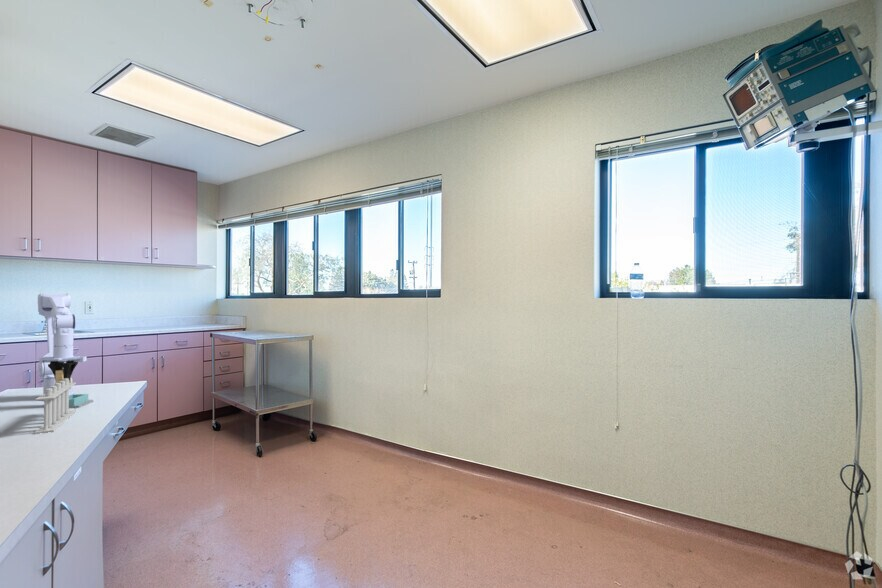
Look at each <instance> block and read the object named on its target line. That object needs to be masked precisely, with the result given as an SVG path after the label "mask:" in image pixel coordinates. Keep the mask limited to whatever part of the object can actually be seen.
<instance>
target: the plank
mask: <svg viewBox="0 0 882 588" xmlns="http://www.w3.org/2000/svg"><path fill="white" fill-rule="evenodd" d="M71 378H72V377H71ZM71 378H70V380H69V383H71ZM63 379H64V369H61V370H57V371H56V383H59V381H62V380H63ZM56 383H55V384H56ZM69 389H71V387H70V388H69Z"/></svg>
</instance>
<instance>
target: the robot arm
mask: <svg viewBox="0 0 882 588" xmlns="http://www.w3.org/2000/svg"><path fill="white" fill-rule="evenodd" d="M71 299H72V298H71V294H69V293H41V292H39V294H38V295H37V312H38V315H41V316H42V317H44V319H45V321H46V336H47V337H46V340H47V341H46V342H47V353H46V354H45V355H43V356H41V357H39V359H38V360H39V361H38V376H39V377H41V378H43V382H42V383H43V390H42V391H43V394H45V389H49V388H50V386H54V385H55V383H56V371H57V370H61V369H64V379H65V378H69V380H70V378H71V383H74V382H73V378H72V375H73V372H74V370H75V369H76V367H77V366H78V364H79V363H84V362H87V361H88V359H87V355H85V356H84V355H82V356H81V355H80V356H79V355H74V333H75V332H74V331H75V328H76V326H77V319H76V315H75V314H74V313H72V312H71V311H70V307H71V303H72V300H71ZM43 394H42V395H43ZM71 394H76V393H75V392H73V386H72V387H71V389H69V395H71Z"/></svg>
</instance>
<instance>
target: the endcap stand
mask: <svg viewBox="0 0 882 588" xmlns="http://www.w3.org/2000/svg"><path fill="white" fill-rule="evenodd" d="M93 402H94V399H89V393H75V394H71V395H69V409H79V408H82V407H84V406H86V404H87V405H89V404H92V403H93ZM81 406H82V407H81Z"/></svg>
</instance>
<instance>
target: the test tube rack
mask: <svg viewBox="0 0 882 588" xmlns="http://www.w3.org/2000/svg"><path fill="white" fill-rule="evenodd" d="M76 384H77V382H72V383H69V378H65V379H63V380H62V381H59V383H56V384H55V385H54V386H50V388H49V389H45V394H42V395H40V396H38V397H36V398H35V401H43V403H44V405H43V406H44V408H43V409H44V410H43V412H44V413H43V425H41V426H40V427H39V428H38V429H37V430H36V431H35V432H34V435H41V434H40V433H42V434H49V433H48V432H51V433H54V432H56V431H57V430H58V429H59V428H60V427H61V426H62V425H64V424H65V423H66V422H67V421H66V420H67V419H68V418H69V417H70V416H71V417H73V416H74V415H75V414H76V413H77V409H75V410H74V409H73V410H70V408H69V388H70V387H72V388H73V386H75V385H76ZM75 412H76V413H75ZM71 417H70V418H71ZM70 418H69V419H70ZM69 419H68V420H69ZM65 421H66V422H65ZM60 425H61V426H60ZM59 426H60V427H59ZM58 427H59V428H58ZM57 428H58V429H57ZM56 429H57V430H56Z"/></svg>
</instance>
